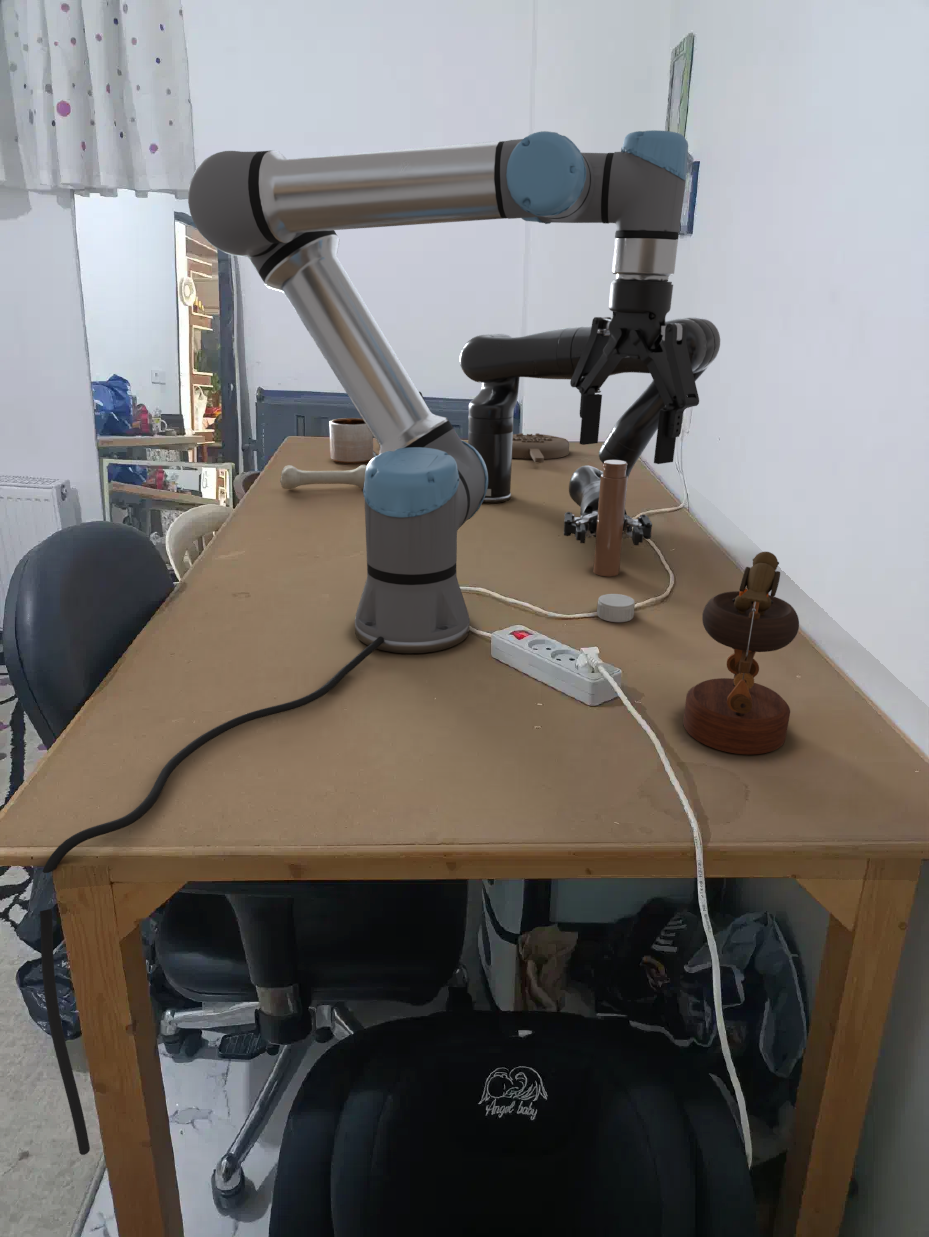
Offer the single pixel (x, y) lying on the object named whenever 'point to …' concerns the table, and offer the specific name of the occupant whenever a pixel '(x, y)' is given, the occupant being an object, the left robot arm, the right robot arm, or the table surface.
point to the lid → (615, 608)
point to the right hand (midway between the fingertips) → (610, 538)
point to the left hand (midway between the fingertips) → (624, 453)
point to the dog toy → (321, 477)
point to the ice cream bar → (538, 447)
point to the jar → (610, 518)
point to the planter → (350, 441)
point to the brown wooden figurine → (744, 666)
